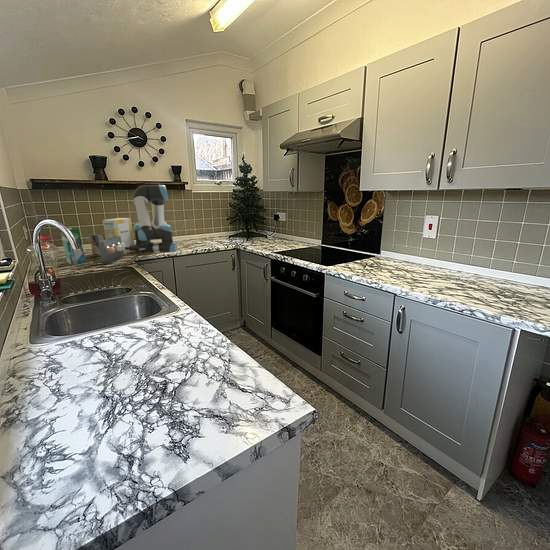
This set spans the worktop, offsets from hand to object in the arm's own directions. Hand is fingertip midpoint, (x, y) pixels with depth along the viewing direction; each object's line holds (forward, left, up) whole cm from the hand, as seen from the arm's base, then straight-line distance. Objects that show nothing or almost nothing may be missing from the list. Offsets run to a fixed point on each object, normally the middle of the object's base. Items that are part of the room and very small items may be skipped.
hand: (121, 248), depth 212 cm
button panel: (+4, -15, -11) cm, 19 cm away
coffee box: (+2, -45, -11) cm, 46 cm away
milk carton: (+23, -27, -11) cm, 37 cm away
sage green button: (-6, -17, -4) cm, 18 cm away
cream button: (-1, -10, -4) cm, 11 cm away
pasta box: (-12, -35, -11) cm, 38 cm away
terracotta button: (+5, -5, -4) cm, 8 cm away
